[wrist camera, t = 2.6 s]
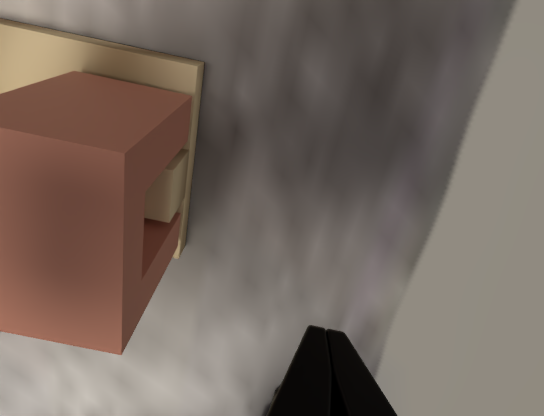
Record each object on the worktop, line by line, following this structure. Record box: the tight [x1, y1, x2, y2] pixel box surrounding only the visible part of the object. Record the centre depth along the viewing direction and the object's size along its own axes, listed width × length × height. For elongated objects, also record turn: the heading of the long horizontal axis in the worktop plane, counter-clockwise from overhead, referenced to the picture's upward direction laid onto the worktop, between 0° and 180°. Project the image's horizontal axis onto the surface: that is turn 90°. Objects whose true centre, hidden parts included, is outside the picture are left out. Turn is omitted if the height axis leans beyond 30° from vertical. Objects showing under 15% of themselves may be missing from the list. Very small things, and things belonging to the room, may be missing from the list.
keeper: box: [0, 71, 192, 355], centre depth 12 cm, size 4×6×6 cm, turn 169°
